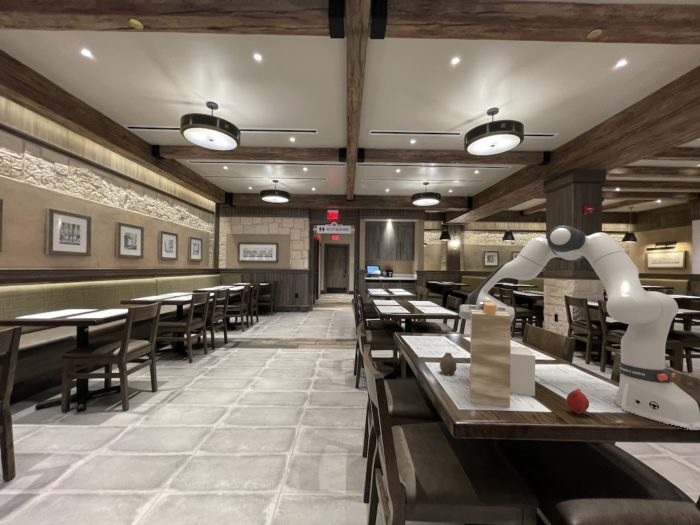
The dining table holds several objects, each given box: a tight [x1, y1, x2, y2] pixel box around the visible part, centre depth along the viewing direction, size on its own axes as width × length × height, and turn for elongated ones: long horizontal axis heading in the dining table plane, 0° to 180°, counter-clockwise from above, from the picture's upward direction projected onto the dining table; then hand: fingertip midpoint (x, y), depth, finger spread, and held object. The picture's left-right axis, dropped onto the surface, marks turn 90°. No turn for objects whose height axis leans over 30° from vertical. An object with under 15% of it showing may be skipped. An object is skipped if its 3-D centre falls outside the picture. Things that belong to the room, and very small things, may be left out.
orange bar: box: [483, 301, 496, 314], centre depth 119 cm, size 19×3×3 cm, turn 161°
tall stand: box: [469, 310, 512, 408], centre depth 114 cm, size 12×12×30 cm
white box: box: [510, 345, 536, 397], centre depth 125 cm, size 13×12×14 cm
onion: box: [566, 387, 590, 415], centre depth 103 cm, size 6×6×8 cm
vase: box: [439, 352, 457, 375], centre depth 141 cm, size 7×7×9 cm
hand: (487, 304), depth 124 cm, fingers closed on orange bar, 3 cm apart
